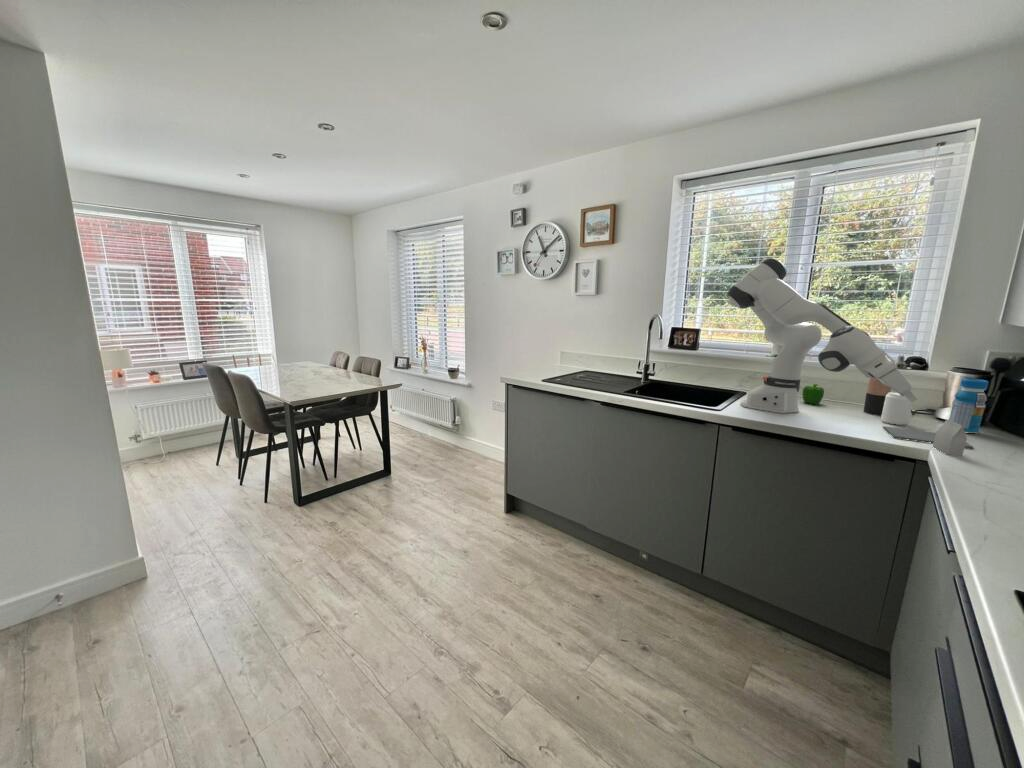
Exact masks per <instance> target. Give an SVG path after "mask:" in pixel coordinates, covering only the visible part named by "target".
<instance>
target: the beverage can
mask: <svg viewBox="0 0 1024 768" xmlns="http://www.w3.org/2000/svg"><path fill="white" fill-rule="evenodd" d="M913 404H914V403H913V402H911V401H909V400H908V399H907V398H906V397H905V396H901V395H900V394H899V393H897V392H896V391H893V392H889V393H888V394H887V395H886V398H885V402H884V407H883V412H882V415H880V420H881V421H882V422H883V423H885V422H886V423H885V424H888V423H890V424H889V425H893V424H896V425H895V426H906V425H908V424H909V421H910V416H911V411H912V408H913Z"/></svg>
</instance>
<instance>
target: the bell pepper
mask: <svg viewBox="0 0 1024 768" xmlns="http://www.w3.org/2000/svg"><path fill="white" fill-rule="evenodd" d="M818 385H819V384H818V383H816V382H815V383H814V384H813V385H812V386H811V385H805V386H804V387H803V388H802V400H803V402H804V403H806V404H811V405H818V404H820V403H821V401H822V399H823V397H824V396H825V395H824V394H825V390H824V387H819V386H818Z"/></svg>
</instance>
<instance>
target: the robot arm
mask: <svg viewBox="0 0 1024 768" xmlns="http://www.w3.org/2000/svg"><path fill="white" fill-rule="evenodd" d="M787 273H788V272H787V269H786V267H785V265H784V264H783V262H782V261H780V260H778V259H777V258H774V257H768V258H766V259H764V260H763V261H762V262H760V264H757V266H755V267H753V268H752V269H751V270H749V271H748V272H747V273H746V274H745V275H744V276H743V277H742V278H741V279H739V280H738V281H737V282H736V284H735V285H732V286H731V287H730V289H729V290H728V292H727V297H728V298H729V299H728V300H729V301H730V303H731V304H732V305H733V306H734V307H737V308H739V309H742V310H744V309H747V308H750V309H751V310H752V312H753V313H754V314H755V315H756V317H757V318H758V319H759V320H760V321H761V324H762V325H763V327H764V333H763V334H764V338H765V340H767V341H768V342H769V343H770V344H771V343H772V344H773V345H777V346H782V348H781V351H780V352H779V353H778V355H777V356H775V357H774V358H772V361H771V367H770V368H771V369H770V375H769V376H767V375H764V376H762V380H763V384H761V385H758V386H757V387H755V388H753V389H751V390H749V392H748V394H747V396H746V399H743V400H741V401H740V406H742V407H744V408H748V409H753V410H760V411H765V412H766V411H767V412H773V413H780V414H787V413H798V412H800V409H799V399H798V398H799V392H800V388H801V383H802V382H801V373H802V370H803V369H802V368H803V364H804V362H805V359H806V357H807V355H808V354H809V352H810V351H811V350H812V349H813V348H814V347H816V346H817V345H818V344H819V343H820V342H821V340H822V336H823V335H822V334H823V333H822V330H821V328H820V327H819V326H817V325H815V324H813V323H810V322H814V323H817V324H819V325H820V326H822V327H823V328H825V329H826V330H828V331H829V332H830V333H831V335H830V336H829V341H828V343H827V344H826V346H825V347H824V348H823V349H822V350H821V351H820V353H818V357H817V359H818V363H819V364H820V365H821V367H823V368H824V369H825V370H827V371H829V372H835V373H837V372H838V373H839V372H841V371H844V370H845V369H847V368H849V366H852V365H854V366H855V368H856V369H857V370H858V371H859V372H860V373H862V374H863V376H864V377H866V378H870V377H871V378H874V379H878V380H880V381H881V382H882V383H883V384H884V385H886V386H887V387H889V388H891V391H893V392H897V393H899V394H900V395H901V396H905V397H906V398H907V399H908V400H909V401H911V402H915V401H917V400H918V398H917V397H916V395H914V393H913V392H912V391H911V390H913V386H912V384H911V383H910V382H909V381H908V380H907V378H906V377H905V375H903V373H902V372H901V371H900V370H899V369H898V365H897V364H896V363H895V360H894V359H893V358H892V357H891V356H890V355H889V354H888V353H887V352H886V351H884V349H882V348H881V347H879V346H877V344H876V343H875V341H874V340H873V339H872V338H871V336H870V334H869V333H867V331H864V330H863V329H860V328H859V327H857V326H855V325H853V324H851V323H850V322H849V321H847V320H845V319H844V318H842V317H841V316H840V315H839V314H837V313H835V312H834V311H833V310H831V309H830V308H829V307H828V306H825V305H824V304H822V303H820V302H818V301H815V300H814V301H811V300H809V299H807V298H805V297H803V296H802V295H801V294H800V293H799V292H797V290H795V288H793V287H792V286H790V285H789V284H788V283H786V282H785V281H783V280H784V279H785V278H786V276H787Z"/></svg>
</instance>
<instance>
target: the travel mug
mask: <svg viewBox="0 0 1024 768" xmlns="http://www.w3.org/2000/svg"><path fill="white" fill-rule="evenodd" d="M891 391H892V389H891V388H889V387H887V386H886V385H884V384H883V383H882V382H881V381H880V380H878V379H874V378H871V377H869V380H868V384H867V389H866V394H865V400H864V405H863V412H864V413H866V414H868V415H869V414H870V415H874V414H876V415H875V416H882V412H883V407H884V402H885V398H886V395H887V394H888V393H889V392H891Z"/></svg>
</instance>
